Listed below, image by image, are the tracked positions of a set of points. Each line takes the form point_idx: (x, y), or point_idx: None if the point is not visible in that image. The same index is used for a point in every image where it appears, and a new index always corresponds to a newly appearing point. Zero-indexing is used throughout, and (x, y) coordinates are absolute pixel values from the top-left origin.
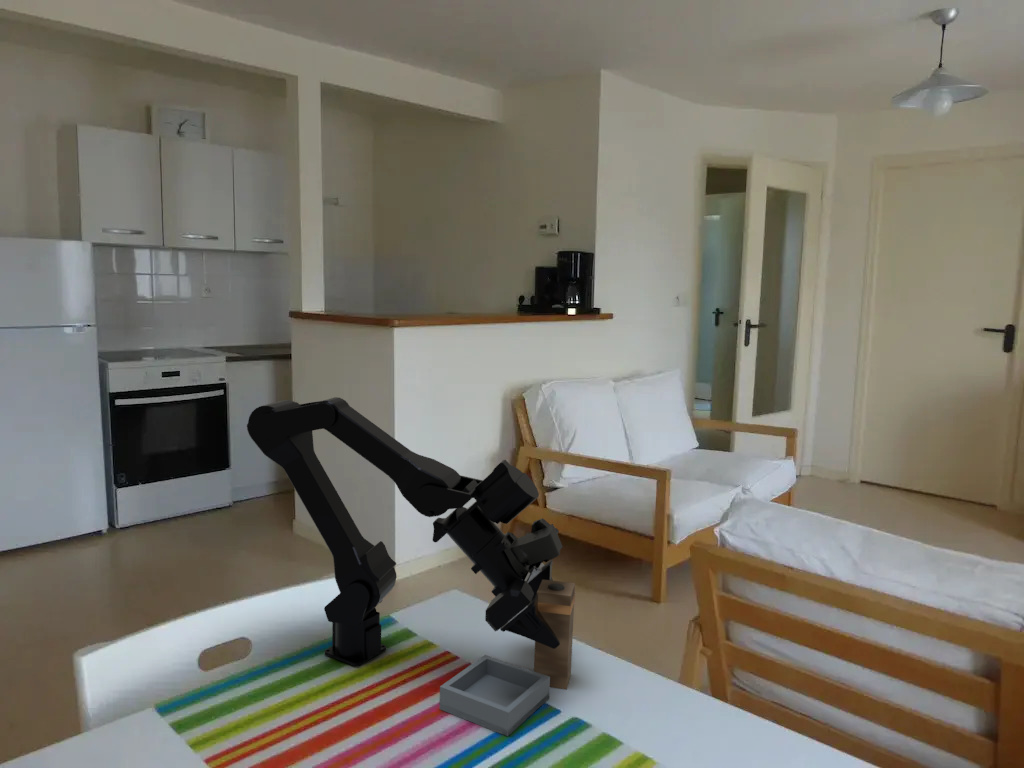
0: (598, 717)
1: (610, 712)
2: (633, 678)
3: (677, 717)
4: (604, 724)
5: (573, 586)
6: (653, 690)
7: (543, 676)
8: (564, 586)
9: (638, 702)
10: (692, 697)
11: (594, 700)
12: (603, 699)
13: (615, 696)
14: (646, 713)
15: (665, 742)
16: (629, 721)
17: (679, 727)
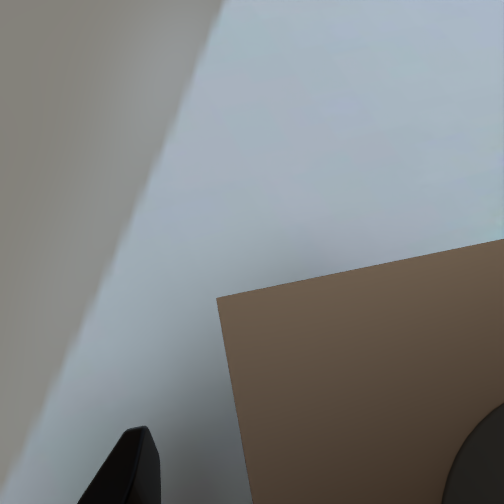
0: (470, 203)
1: (422, 180)
2: (188, 172)
3: (344, 27)
4: (494, 178)
5: (372, 272)
6: (234, 106)
7: None
8: (463, 416)
9: (323, 126)
10: (223, 15)
11: (383, 242)
12: (362, 219)
13: (325, 192)
14: (369, 95)
15: (475, 28)
16: (436, 123)
17: (388, 15)
